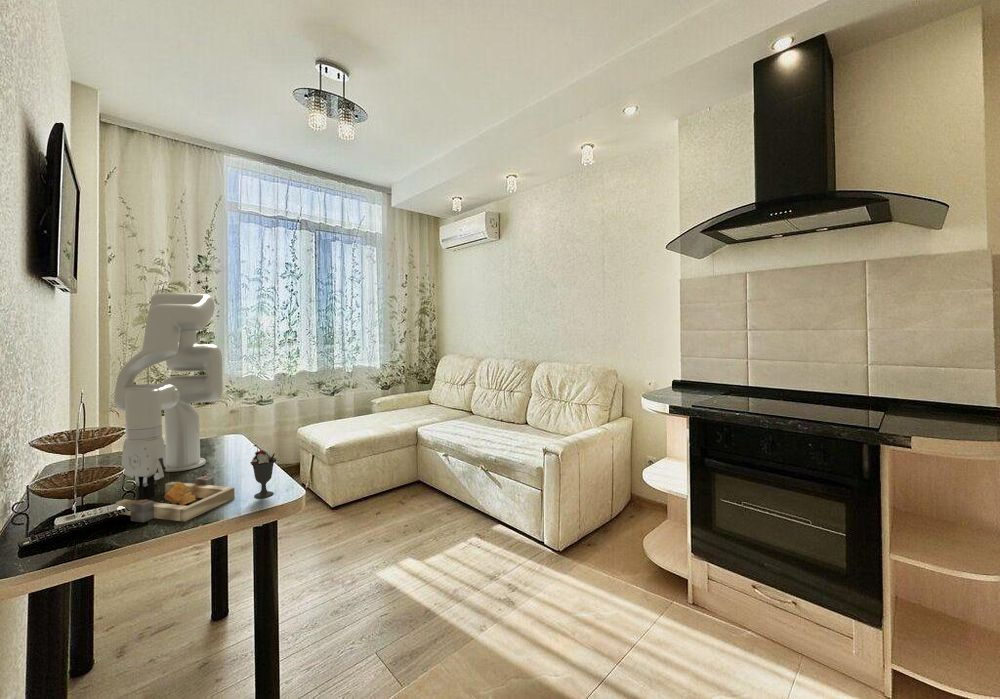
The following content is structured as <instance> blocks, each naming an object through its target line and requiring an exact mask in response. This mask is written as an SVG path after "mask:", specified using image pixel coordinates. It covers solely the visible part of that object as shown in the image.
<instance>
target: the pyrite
mask: <svg viewBox="0 0 1000 699" xmlns="http://www.w3.org/2000/svg"><path fill="white" fill-rule="evenodd" d="M176 482H177V483H176V484H175V485H174V486H173V487H172V488H171V489H170V490H169V491H168V492H167V493H166V494H165V495H164V496H163V498H164V500H167V501H169V502H170V503H171V504H173V505H177V503H179V505H183V506H185V505H187V504H190V503H192V502H194V501H196V500H197V499H196V497H195V495H194V493H193V491H191V492H187V491H188V490H189V489H190V488H189V487H187V486H186V485H184V484H182V483H183V482H181V481H176Z"/></svg>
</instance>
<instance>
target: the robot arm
mask: <svg viewBox="0 0 1000 699" xmlns="http://www.w3.org/2000/svg"><path fill="white" fill-rule="evenodd" d="M149 303H150V308H149V310H148V312H147V317H146V324H145V330H144V336H143V342H142V348H141V350H140V351H139V352H138V353H136V354H135V355H134V356H133V357H131V358H130V359H129V360H127V362H126V363H125V364H124V365H123V366H122V368H121V369H120V371H119V373H118V375H117V378H116V381H115V382H116V383H115V388H114V396H113V398H114V399H113V400H114V401H113V402H114V404H115V406H116V408H117V409H118V410H119V411H122V412H124V413H125V414H124V415H125V435H126V436H125V437H126V438H124V440H123V445H122V453H121V469H122V468H124V469H125V471H124V473H122V474H123V475H125V476H128V477H129V478H132V479H134V481H135V485H136V486H137V493H138V494H137V495H138V497H137V498H138V500H145V499H146V500H150V499H153V498H155V495H156V491H155V484H156V483H157V480H158V481H159V480H162V479H163V478H164V477H165V474H164V473H165V472H166V473H170V472H171V473H172V472H173V473H175V472H183V471H188V470H193V469H196V468H199V467H202V466H203V465H206V460H207V459H205V458H204V457H201V442H200V441H201V438H200V435H201V434H200V414H199V412H198V411H197V409H196V408H195V407H194V406H193V405H192V404H197V403H211V402H212V403H213V402H217V401H219V400H221V398H222V396H223V385H224V383H223V354H222V351H221V349H220V348H219V347H218V346H217V345H216V344H208V343H207V344H206V343H203V344H199V343H198V342H197V331H202V330H204V329H205V327H206V326H207V325H208V323H209V321H210V320H211V318H212V317H213V314H214V313H215V312H214V311H215V308H216V307H215V306H216V305H215V302H214V299H213V297H211V295H209V294H206V293H186V292H160V293H155V294H153V295H152V296H151V297H150V302H149ZM164 361H165V363H166V367H167V369H168V370H170V371H171V372H177V373H181V372H182V373H185V372H187V373H189V372H190V373H191V372H203V373H205V374H202V375H201V374H200V375H198V374H197V375H192V374H191V375H174V376H169V377H167V378H165V379H163V381H161V383H154V384H153V383H151V384H150V383H149V384H148V383H147V384H145V383H143V384H134V381H135V379H136V377H138V375H139V374H141V372H143V371H145V370H146V369H148V368H150V367H153V366H154V365H157V364H159V363H161V362H164ZM162 411H163V413H164V437H163V424H162V420H163V419H162V415H163V414H162ZM164 438H165V439H164ZM138 500H137V501H138Z"/></svg>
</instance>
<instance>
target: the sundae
mask: <svg viewBox="0 0 1000 699" xmlns="http://www.w3.org/2000/svg"><path fill="white" fill-rule="evenodd" d="M253 447H256V449H257V450H256V452H254V454H255V455H254V456H253V457H252V460H251V461H250V463H249V464H250V465H251V466H252V468H253V473H254V478H255V481H256V482H257V483H259V484H260V486H261V489H260V491H259V492H258V493H255V494H254V495H253V497H254V498H255V499H266V498H269V497H272V496H273V495H274V492H273V491H269V490H268V489H267V483H268V482H269V481H270V480H271V479H272V478H273V477H272V476H273V471H274V463H276V462H277V458H276V457H274V456H275V453H273V454H272V455H271V453H270V452H268V451H266V450H263V449H261V448H260V447H259V446H258V445H257V444H254V445H253Z"/></svg>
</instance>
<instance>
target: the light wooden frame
mask: <svg viewBox="0 0 1000 699" xmlns="http://www.w3.org/2000/svg"><path fill="white" fill-rule="evenodd" d="M214 478H215V477H214V476H209V475H205V476H204V475H202V476H198V477H196V478H194V483H191V482H190V483H189V482H181V483H182V484H184V485H186V486H187V487H189V488H190V489H189V490H188V491H187V492H191V491H193V493H194V495H195V498H197V499H199V498H200V500H198V501H196V502H193V503H191V504H189V505H180V504H173V503H171V504H170V503H163V502H157V501H154V500H150V499H148V500H146V499H145V500H137V499H136V500H135V499H126V498H124V499H121V500H118V501H115V506H116V505H118V506H123V507H125V508H127V509H128V510H130V511H125V512H121V513H119V514H118V515H125V516H130V521H131V522H136V523H146V522H148V521H151V520H153V519H160V520H167V521H176V522H177V521H178V522H187V521H190V520H192V519H193V518H195V517H198V516H200V515H202V514H204V513H206V512H209V511H211V510H212V509H214V508H217V507H219V506H221V505H223V504H225V503H228V502H230V501H232V500H233V499H235V487H232V486H222V485H221V486H220V485H215V481H214V480H215V479H214ZM177 482H178V481H171V482H170V481H169V482H168V483H165V484H164V488H165V489H164V490H165V495H166V493H167V492H168V491H169V490H170V489H171V488H172V487H173V486H174V485H175V484H176V483H177Z"/></svg>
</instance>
